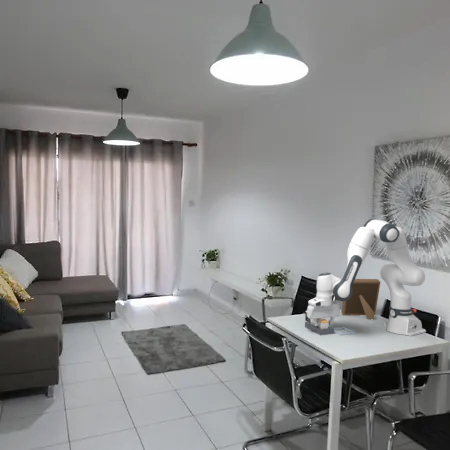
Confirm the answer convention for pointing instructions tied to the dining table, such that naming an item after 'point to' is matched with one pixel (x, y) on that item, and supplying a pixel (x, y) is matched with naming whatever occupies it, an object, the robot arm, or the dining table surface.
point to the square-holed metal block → (319, 329)
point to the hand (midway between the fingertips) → (323, 325)
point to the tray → (343, 333)
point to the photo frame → (362, 298)
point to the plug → (323, 323)
